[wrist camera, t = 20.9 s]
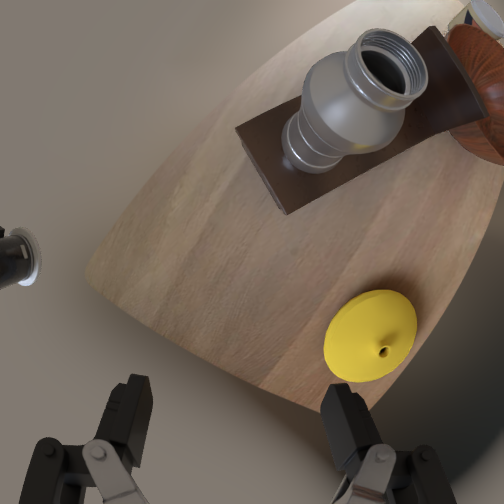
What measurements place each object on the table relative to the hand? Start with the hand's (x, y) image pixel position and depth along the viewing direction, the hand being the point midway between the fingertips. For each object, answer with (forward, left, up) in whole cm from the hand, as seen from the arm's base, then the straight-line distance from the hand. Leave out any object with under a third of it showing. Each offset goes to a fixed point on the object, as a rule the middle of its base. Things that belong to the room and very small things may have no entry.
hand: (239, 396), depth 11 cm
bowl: (+25, +41, -28) cm, 56 cm away
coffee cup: (+23, +61, -28) cm, 71 cm away
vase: (+21, -3, -28) cm, 35 cm away
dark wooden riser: (+4, +21, -28) cm, 35 cm away
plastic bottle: (+1, +16, -20) cm, 26 cm away
